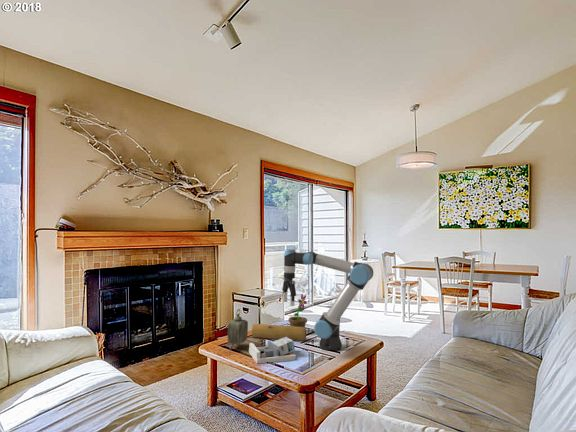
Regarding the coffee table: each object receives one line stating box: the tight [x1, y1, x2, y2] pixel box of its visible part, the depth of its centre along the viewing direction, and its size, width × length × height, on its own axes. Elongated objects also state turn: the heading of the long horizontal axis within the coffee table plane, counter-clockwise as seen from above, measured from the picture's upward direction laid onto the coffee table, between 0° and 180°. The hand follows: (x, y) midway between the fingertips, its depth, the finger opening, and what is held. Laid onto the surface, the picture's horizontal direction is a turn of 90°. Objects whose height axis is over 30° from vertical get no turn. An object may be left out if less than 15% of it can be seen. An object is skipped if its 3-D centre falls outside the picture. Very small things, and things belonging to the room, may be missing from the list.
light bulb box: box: [270, 337, 296, 356], centre depth 224 cm, size 11×7×11 cm
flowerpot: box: [288, 293, 308, 328], centre depth 271 cm, size 14×14×30 cm
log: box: [251, 323, 307, 342], centre depth 254 cm, size 38×10×10 cm, turn 81°
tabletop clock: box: [227, 309, 249, 351], centre depth 233 cm, size 14×9×25 cm, turn 168°
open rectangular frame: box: [248, 342, 297, 364], centre depth 219 cm, size 24×20×6 cm
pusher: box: [263, 340, 279, 358], centre depth 219 cm, size 6×17×6 cm, turn 20°
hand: (288, 303), depth 237 cm, fingers open, 13 cm apart
